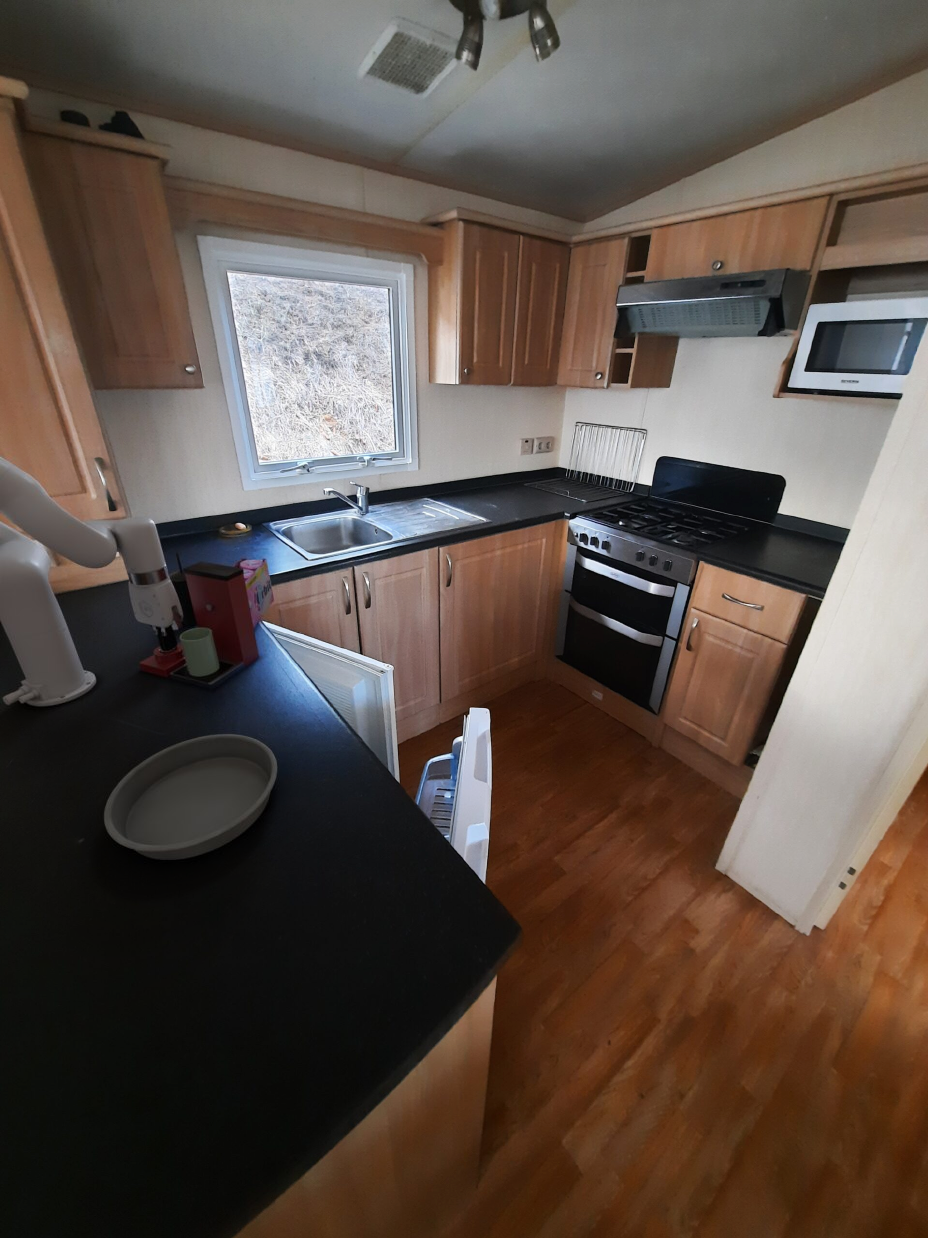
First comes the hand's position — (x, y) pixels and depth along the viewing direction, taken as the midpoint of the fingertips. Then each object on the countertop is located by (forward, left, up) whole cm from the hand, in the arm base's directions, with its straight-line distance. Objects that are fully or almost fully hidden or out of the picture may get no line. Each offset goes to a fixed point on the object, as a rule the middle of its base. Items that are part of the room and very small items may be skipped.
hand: (169, 647), depth 119 cm
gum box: (+27, +1, -5) cm, 27 cm away
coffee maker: (+2, -11, -4) cm, 12 cm away
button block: (0, 0, -4) cm, 4 cm away
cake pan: (-31, -40, -5) cm, 51 cm away
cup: (-1, -11, -3) cm, 11 cm away
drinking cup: (+19, +13, -5) cm, 23 cm away
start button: (0, 0, -2) cm, 2 cm away
